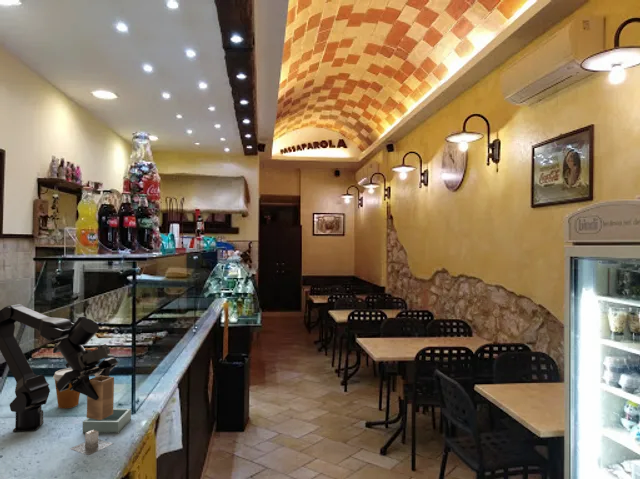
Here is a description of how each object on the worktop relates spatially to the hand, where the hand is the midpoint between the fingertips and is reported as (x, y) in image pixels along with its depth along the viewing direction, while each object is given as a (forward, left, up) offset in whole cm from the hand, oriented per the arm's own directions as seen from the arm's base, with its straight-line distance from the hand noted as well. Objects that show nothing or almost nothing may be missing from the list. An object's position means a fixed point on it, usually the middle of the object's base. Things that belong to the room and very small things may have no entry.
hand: (104, 396), depth 136 cm
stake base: (-2, -4, -13) cm, 14 cm away
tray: (-1, +10, -13) cm, 17 cm away
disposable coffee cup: (-19, +32, -14) cm, 40 cm away
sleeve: (-1, +1, -6) cm, 6 cm away
